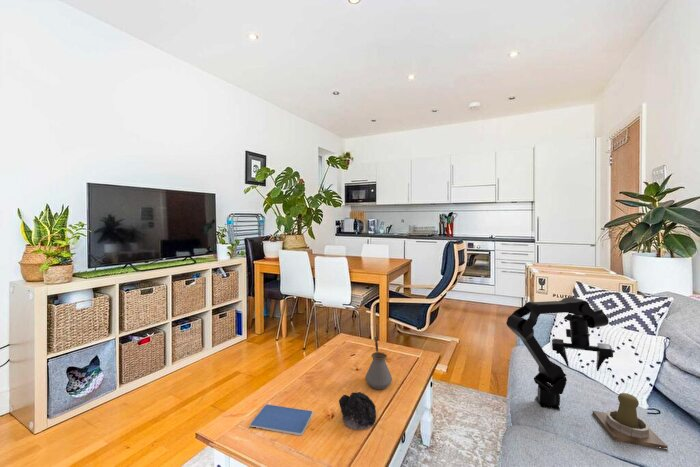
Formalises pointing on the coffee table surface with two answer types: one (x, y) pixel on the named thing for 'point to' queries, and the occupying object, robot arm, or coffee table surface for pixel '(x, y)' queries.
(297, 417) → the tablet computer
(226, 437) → the coffee table surface
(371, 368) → the coffee pot
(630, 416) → the cork
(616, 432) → the spacer seat
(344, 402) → the black rough lump
